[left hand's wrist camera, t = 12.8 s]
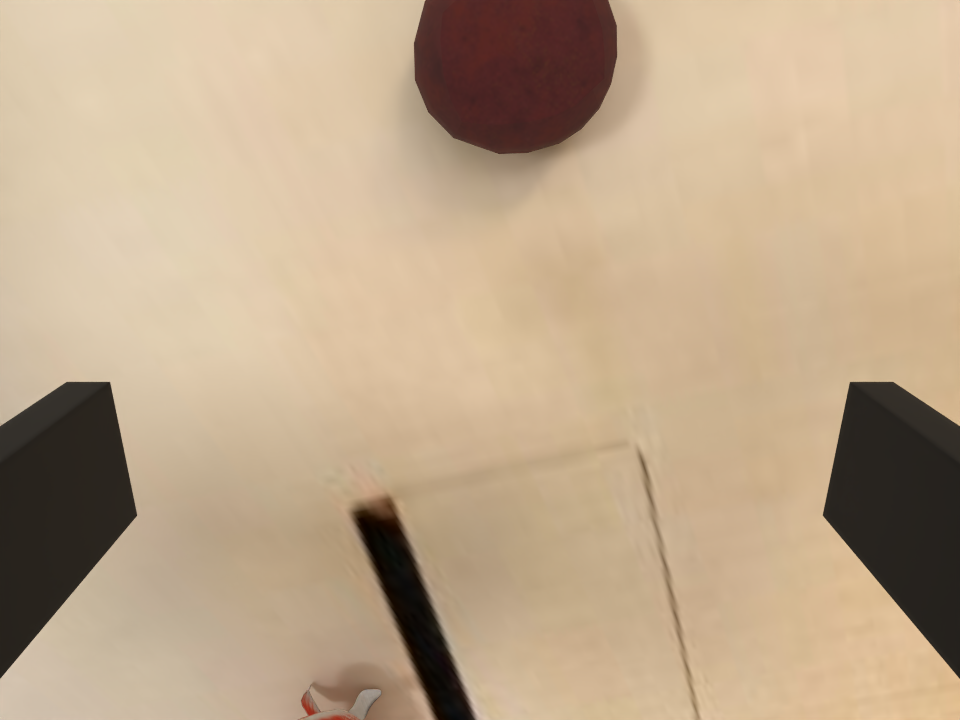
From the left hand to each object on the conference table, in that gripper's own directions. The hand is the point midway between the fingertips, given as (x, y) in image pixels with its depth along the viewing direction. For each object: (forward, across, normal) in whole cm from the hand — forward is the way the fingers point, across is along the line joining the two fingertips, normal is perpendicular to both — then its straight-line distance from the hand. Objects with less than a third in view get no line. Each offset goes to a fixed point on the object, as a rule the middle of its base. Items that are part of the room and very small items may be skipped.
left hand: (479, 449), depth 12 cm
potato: (+21, +1, +8) cm, 22 cm away
